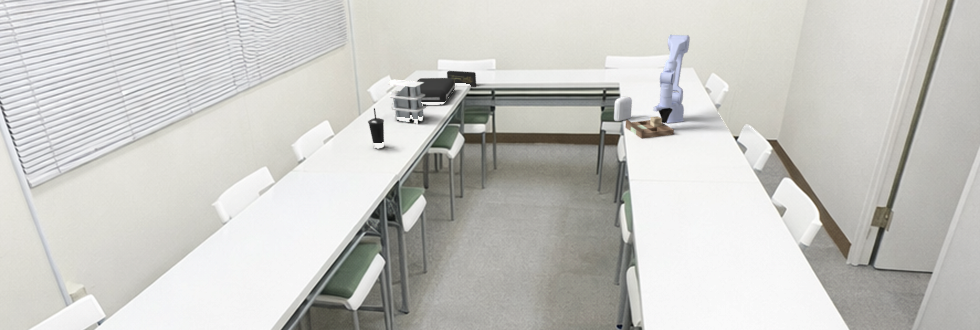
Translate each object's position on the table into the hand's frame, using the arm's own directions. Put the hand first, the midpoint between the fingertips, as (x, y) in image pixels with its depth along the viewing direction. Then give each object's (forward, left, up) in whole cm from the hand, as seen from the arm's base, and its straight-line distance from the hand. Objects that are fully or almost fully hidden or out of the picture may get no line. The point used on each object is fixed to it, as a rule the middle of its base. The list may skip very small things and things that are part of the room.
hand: (664, 122), depth 287 cm
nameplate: (+81, -130, -4) cm, 153 cm away
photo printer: (+12, -23, -4) cm, 26 cm away
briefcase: (+108, -106, -4) cm, 151 cm away
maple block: (+4, 0, -1) cm, 5 cm away
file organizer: (+124, -62, -4) cm, 139 cm away
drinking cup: (+141, -22, -4) cm, 143 cm away
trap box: (+8, 0, -3) cm, 9 cm away
